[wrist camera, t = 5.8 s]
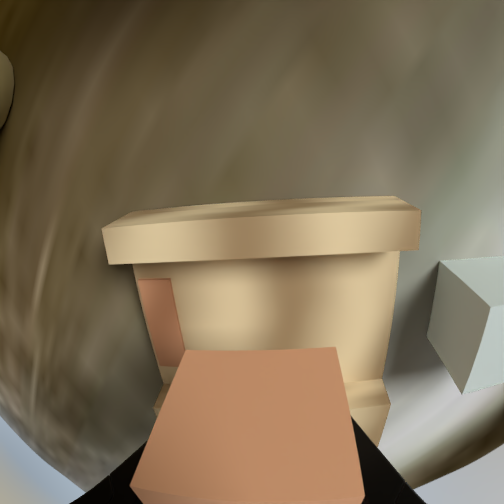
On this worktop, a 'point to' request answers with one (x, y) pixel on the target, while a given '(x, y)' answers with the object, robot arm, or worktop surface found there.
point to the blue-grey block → (470, 321)
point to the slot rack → (273, 282)
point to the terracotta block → (253, 432)
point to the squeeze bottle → (5, 87)
